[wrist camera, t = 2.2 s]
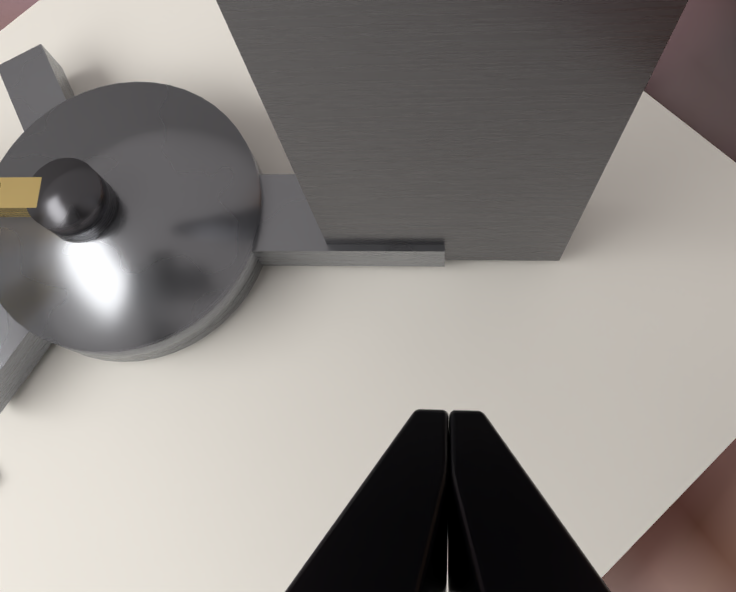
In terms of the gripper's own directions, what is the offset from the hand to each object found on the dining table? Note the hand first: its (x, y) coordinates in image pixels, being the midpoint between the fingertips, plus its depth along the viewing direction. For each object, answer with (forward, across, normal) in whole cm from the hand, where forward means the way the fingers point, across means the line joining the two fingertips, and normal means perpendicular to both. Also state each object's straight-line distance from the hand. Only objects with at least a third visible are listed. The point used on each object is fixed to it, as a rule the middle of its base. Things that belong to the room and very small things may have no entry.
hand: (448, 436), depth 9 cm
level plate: (+8, +6, +3) cm, 10 cm away
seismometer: (+8, +8, +1) cm, 11 cm away
